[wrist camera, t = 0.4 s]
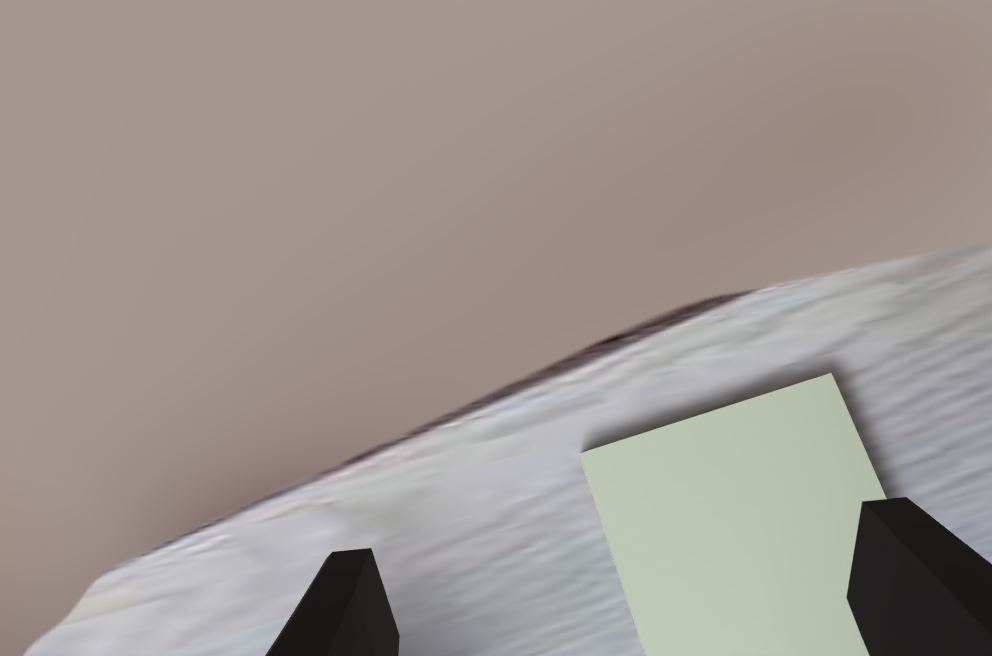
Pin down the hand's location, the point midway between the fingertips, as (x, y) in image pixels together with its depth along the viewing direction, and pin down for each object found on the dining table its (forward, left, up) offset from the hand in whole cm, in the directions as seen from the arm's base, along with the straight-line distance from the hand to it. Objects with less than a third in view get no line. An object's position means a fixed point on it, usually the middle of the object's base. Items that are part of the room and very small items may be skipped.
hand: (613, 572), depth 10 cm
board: (-4, -6, -29) cm, 30 cm away
